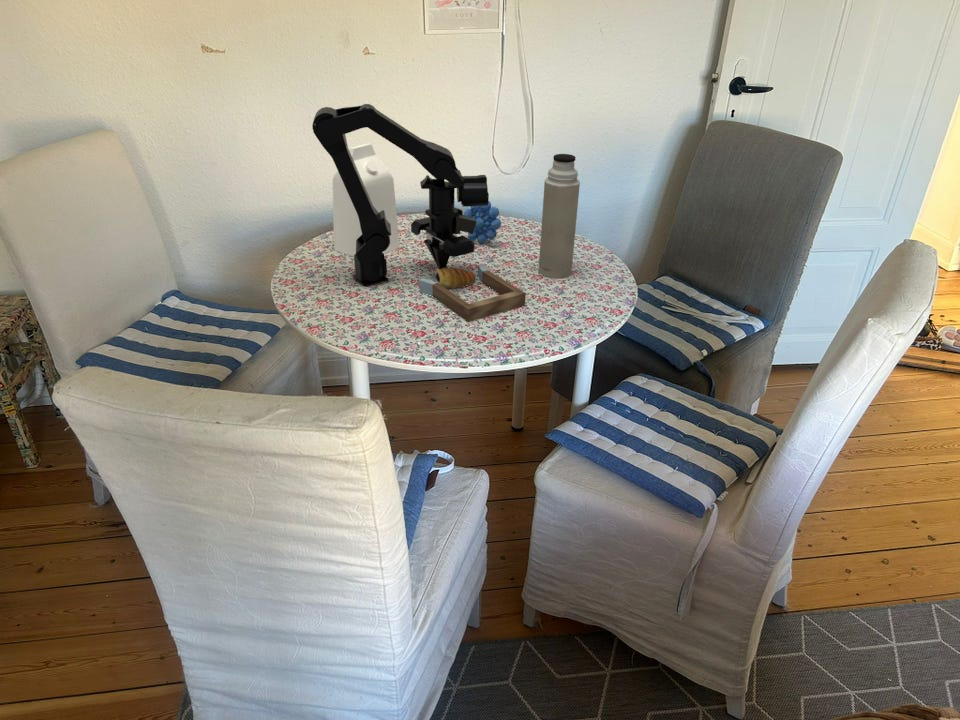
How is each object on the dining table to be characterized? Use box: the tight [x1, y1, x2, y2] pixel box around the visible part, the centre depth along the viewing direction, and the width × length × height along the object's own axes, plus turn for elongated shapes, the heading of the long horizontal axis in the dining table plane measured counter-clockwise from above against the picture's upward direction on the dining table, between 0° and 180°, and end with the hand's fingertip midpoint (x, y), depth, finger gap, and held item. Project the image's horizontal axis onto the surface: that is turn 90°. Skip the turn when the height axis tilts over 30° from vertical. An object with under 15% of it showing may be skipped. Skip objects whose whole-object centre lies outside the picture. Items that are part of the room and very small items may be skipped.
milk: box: [332, 142, 400, 258], centre depth 178 cm, size 12×12×26 cm
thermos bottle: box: [538, 153, 581, 279], centre depth 167 cm, size 8×8×28 cm
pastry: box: [433, 266, 476, 290], centre depth 167 cm, size 9×7×4 cm
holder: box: [418, 263, 527, 323], centre depth 160 cm, size 18×18×3 cm
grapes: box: [463, 200, 502, 245], centre depth 187 cm, size 12×7×12 cm, turn 56°
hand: (441, 270), depth 170 cm, fingers closed
